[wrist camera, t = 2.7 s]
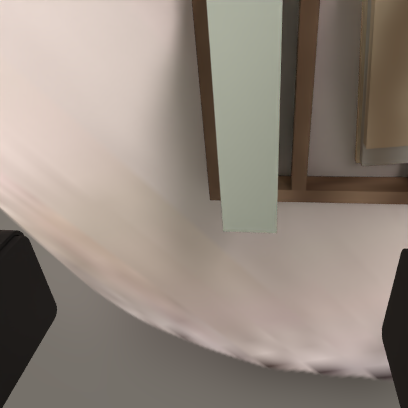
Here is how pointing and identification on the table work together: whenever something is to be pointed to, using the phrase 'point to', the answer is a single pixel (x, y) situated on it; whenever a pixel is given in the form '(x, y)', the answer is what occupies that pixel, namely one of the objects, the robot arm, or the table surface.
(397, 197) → the rack
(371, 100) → the offcut stack
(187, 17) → the table surface
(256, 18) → the pale green rectangular block
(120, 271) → the table surface
